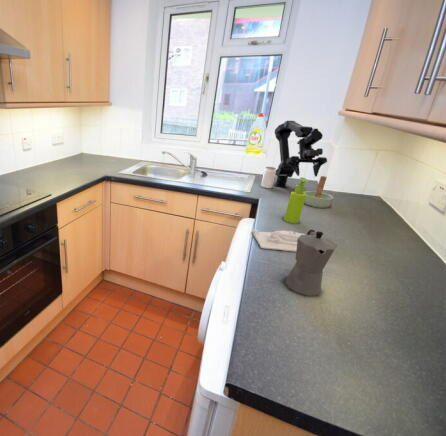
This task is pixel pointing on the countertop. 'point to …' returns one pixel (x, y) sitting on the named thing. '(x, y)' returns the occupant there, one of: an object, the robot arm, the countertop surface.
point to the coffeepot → (310, 263)
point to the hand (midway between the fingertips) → (307, 176)
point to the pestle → (320, 187)
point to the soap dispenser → (296, 203)
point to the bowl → (318, 200)
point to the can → (268, 177)
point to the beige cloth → (277, 240)
